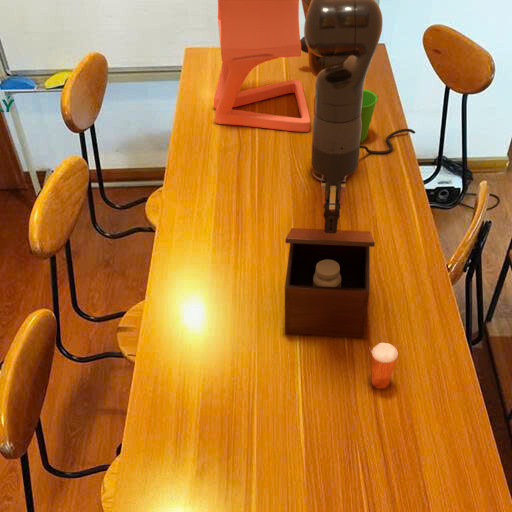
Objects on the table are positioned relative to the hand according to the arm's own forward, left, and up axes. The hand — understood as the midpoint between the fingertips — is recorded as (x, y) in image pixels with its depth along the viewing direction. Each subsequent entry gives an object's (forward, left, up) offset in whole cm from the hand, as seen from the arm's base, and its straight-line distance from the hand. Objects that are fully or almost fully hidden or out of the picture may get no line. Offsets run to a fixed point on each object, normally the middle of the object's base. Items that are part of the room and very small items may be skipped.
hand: (330, 230), depth 120 cm
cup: (-46, -54, -23) cm, 75 cm away
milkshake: (0, +18, -23) cm, 29 cm away
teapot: (-61, -89, -23) cm, 110 cm away
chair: (-31, -79, -23) cm, 88 cm away
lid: (-3, -5, -6) cm, 8 cm away
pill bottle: (-3, -4, -22) cm, 23 cm away
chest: (-3, -4, -23) cm, 24 cm away
